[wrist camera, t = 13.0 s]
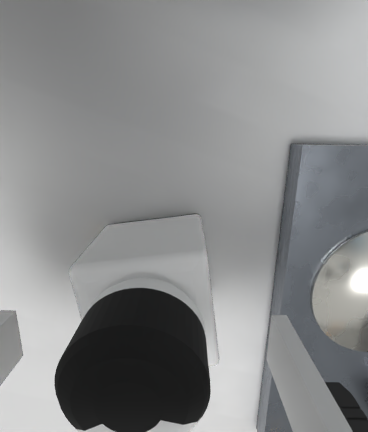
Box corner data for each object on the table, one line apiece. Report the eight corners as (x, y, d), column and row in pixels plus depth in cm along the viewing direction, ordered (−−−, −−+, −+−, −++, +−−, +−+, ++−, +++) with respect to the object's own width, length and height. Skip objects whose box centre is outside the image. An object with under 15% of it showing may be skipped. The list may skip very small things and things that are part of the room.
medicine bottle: (104, 223, 21) (2, 337, 9) (200, 212, 20) (217, 314, 9) (123, 306, 23) (58, 483, 11) (210, 296, 22) (235, 469, 11)
